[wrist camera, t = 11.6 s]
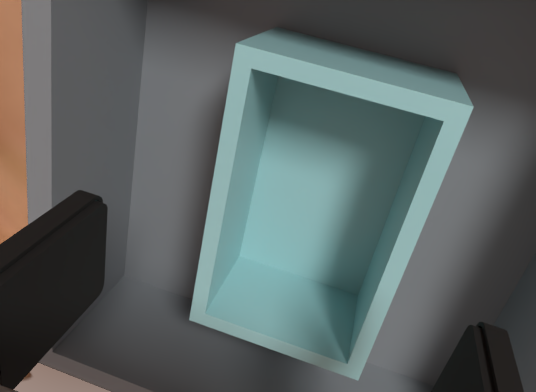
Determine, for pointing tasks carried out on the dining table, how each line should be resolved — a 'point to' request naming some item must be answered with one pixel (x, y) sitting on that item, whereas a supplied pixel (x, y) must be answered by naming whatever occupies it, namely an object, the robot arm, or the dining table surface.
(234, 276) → the small crate
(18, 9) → the dining table surface
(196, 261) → the large crate
